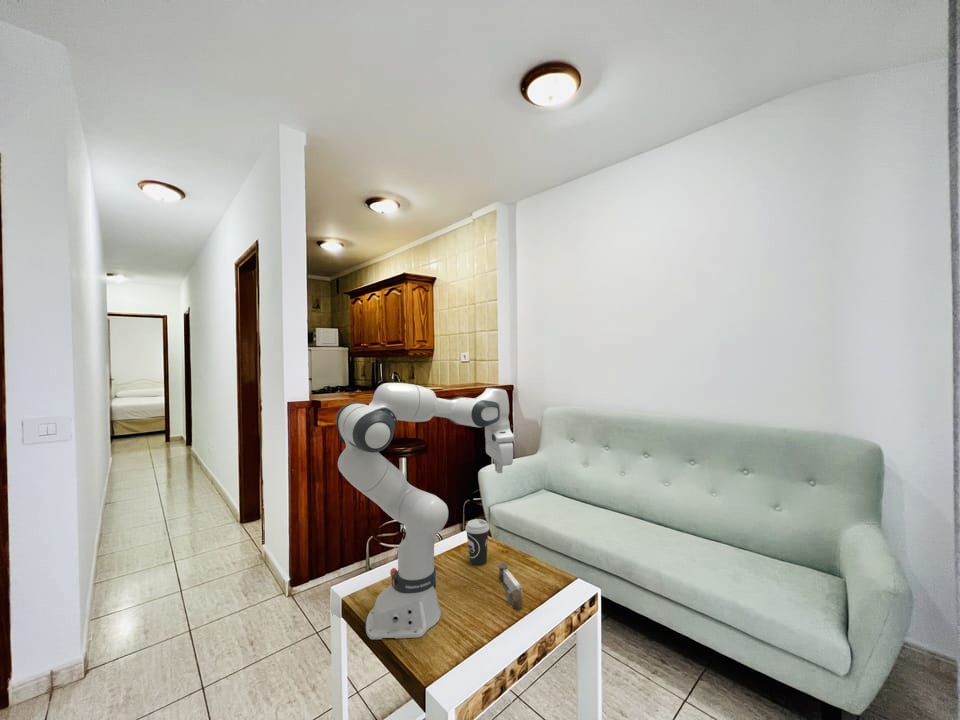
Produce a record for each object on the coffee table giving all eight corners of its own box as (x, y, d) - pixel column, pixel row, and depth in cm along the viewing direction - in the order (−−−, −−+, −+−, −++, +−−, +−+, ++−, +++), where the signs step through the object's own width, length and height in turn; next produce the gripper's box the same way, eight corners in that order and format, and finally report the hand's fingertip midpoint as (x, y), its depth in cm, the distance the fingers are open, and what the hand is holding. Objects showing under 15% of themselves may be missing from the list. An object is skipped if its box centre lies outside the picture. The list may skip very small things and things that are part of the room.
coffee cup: (488, 568, 143) (486, 529, 144) (463, 567, 145) (462, 527, 146) (492, 556, 153) (491, 518, 153) (469, 554, 155) (468, 517, 155)
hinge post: (500, 583, 134) (499, 568, 134) (497, 578, 137) (497, 564, 137) (509, 581, 134) (509, 567, 135) (506, 576, 138) (506, 562, 138)
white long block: (503, 580, 134) (503, 569, 134) (507, 579, 134) (507, 568, 134) (517, 600, 122) (517, 588, 122) (522, 599, 123) (522, 587, 123)
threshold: (510, 600, 124) (510, 599, 124) (502, 585, 133) (502, 584, 133) (517, 599, 124) (517, 598, 124) (509, 584, 133) (509, 583, 133)
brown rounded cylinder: (512, 611, 118) (511, 596, 118) (507, 601, 124) (507, 586, 124) (523, 609, 119) (522, 594, 119) (517, 599, 124) (517, 584, 124)
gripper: (481, 429, 143) (482, 465, 143) (497, 438, 124) (499, 481, 124) (496, 427, 145) (498, 464, 145) (516, 437, 125) (517, 479, 125)
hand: (498, 472), depth 134 cm, fingers closed
